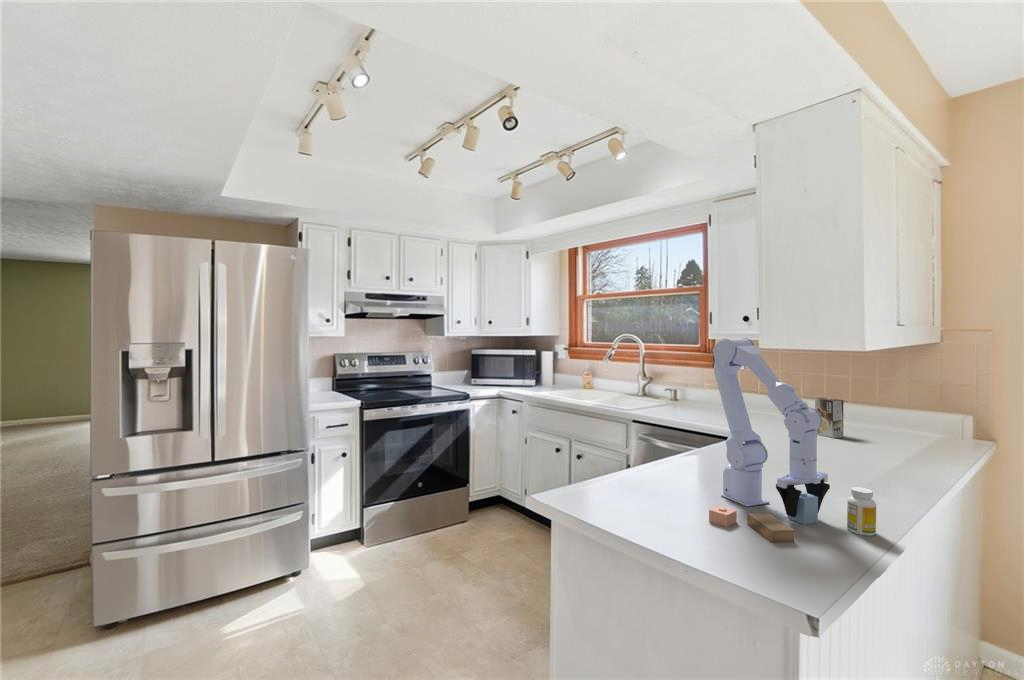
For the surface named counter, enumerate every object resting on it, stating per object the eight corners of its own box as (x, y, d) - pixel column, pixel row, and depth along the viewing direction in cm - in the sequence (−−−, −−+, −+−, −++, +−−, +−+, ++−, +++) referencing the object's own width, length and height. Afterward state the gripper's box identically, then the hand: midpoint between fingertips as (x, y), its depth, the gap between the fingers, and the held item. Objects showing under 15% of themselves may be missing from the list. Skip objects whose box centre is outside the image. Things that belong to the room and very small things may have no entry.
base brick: (747, 525, 116) (747, 513, 116) (767, 525, 116) (768, 512, 116) (772, 544, 106) (772, 530, 106) (794, 543, 106) (794, 530, 106)
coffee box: (844, 437, 209) (844, 399, 209) (833, 438, 207) (833, 400, 207) (824, 433, 218) (825, 397, 218) (813, 434, 216) (814, 397, 216)
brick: (709, 522, 118) (709, 508, 118) (718, 517, 121) (718, 504, 121) (727, 527, 115) (727, 514, 114) (736, 523, 117) (736, 509, 117)
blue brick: (787, 517, 120) (787, 491, 120) (800, 515, 122) (801, 489, 122) (804, 524, 116) (804, 497, 116) (817, 521, 117) (817, 495, 117)
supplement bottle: (845, 531, 111) (845, 489, 111) (849, 524, 115) (849, 484, 115) (874, 538, 108) (874, 495, 108) (877, 531, 112) (877, 489, 112)
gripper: (795, 465, 112) (795, 523, 112) (839, 459, 117) (839, 515, 118) (769, 457, 119) (769, 513, 119) (812, 452, 124) (812, 505, 124)
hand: (802, 513), depth 119 cm, fingers open, 7 cm apart
